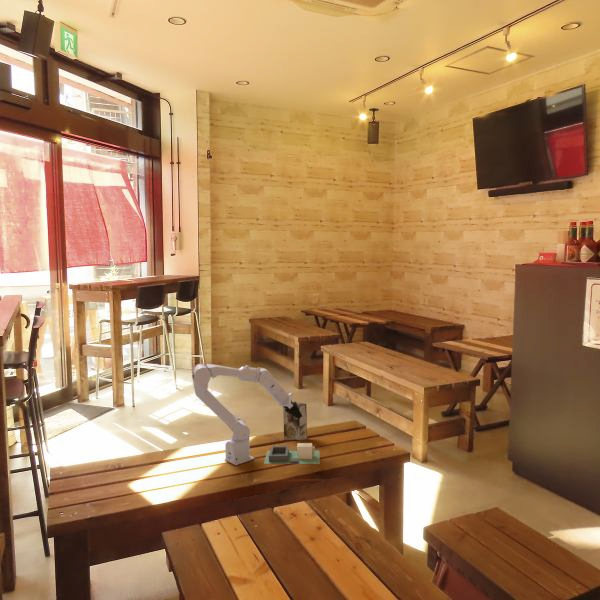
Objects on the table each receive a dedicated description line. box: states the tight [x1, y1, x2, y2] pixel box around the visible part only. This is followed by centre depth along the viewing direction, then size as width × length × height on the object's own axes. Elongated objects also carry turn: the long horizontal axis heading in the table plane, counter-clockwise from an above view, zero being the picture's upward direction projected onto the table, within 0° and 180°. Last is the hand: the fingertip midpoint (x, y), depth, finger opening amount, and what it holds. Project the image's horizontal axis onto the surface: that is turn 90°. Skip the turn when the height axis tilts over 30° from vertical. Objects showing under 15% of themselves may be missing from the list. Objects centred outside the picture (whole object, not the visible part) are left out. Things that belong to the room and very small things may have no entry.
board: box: [263, 445, 320, 465], centre depth 202 cm, size 22×14×4 cm, turn 88°
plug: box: [296, 442, 316, 459], centre depth 202 cm, size 7×4×5 cm, turn 88°
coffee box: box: [282, 401, 308, 441], centre depth 226 cm, size 9×6×16 cm
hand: (297, 414), depth 209 cm, fingers open, 7 cm apart
